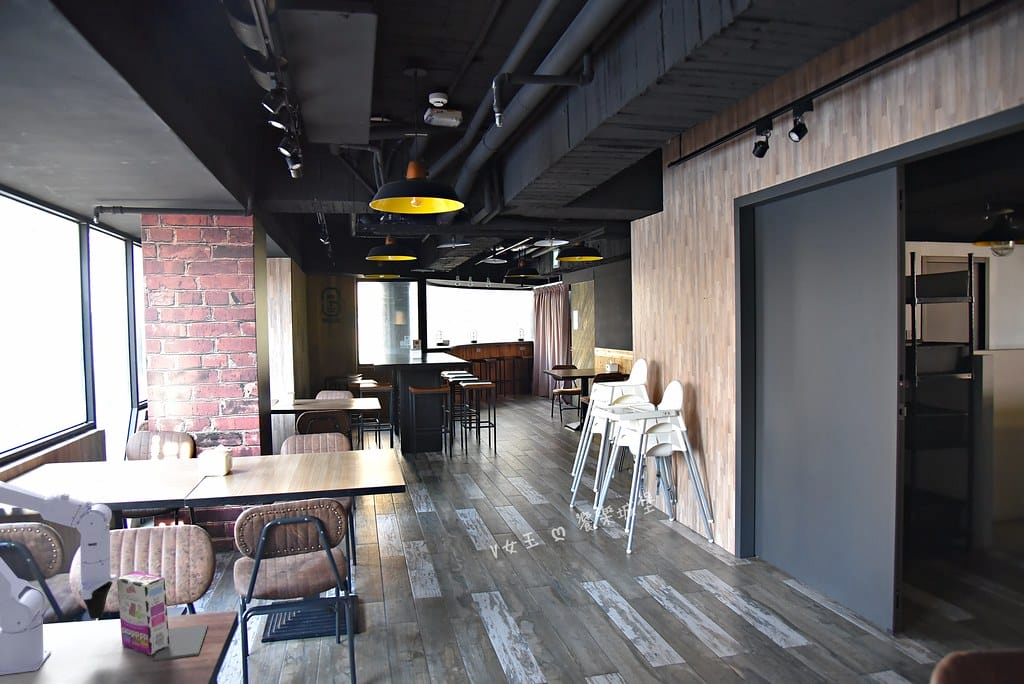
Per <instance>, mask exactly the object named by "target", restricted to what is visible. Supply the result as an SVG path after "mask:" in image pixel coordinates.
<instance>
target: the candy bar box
mask: <svg viewBox="0 0 1024 684" xmlns="http://www.w3.org/2000/svg"><path fill="white" fill-rule="evenodd" d="M116 581H117V583H116V584H117V593H118V594H117V595H118V607H119V608H118V609H119V617H120V618H119V620H120V633H121V645H122V646H123V647H125V648H129V649H131V650H135V651H137V652H141V653H144V654H146V655H150V656H152V655H155V654H156V652H158V651H160V650H162V649H164V648H166V647H168V646H169V645H170V643H169V631H168V629H169V621H168V617H169V616H168V607H167V606H168V605H167V593H166V580H165V577H163V576H160V575H159V576H158V575H156V574H155V575H154V574H150V573H146V572H141V571H138V570H134V571H133V572H129V573H127V574H124V575H122V576H120V577H117V578H116Z"/></svg>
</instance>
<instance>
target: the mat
mask: <svg viewBox="0 0 1024 684" xmlns="http://www.w3.org/2000/svg"><path fill="white" fill-rule="evenodd" d="M207 627H209V624H201V625H199V624H198V625H191V626H184V627H175V628H168V631H169V643H170V645H169V646H168V647H166V648H164V649H162V650H160V651H158V652H156V653H155V654H154V655H153V656H154V657H153V661H163V660H172V659H178V658H186V656H187V657H193V656H194V655H195V656H199V655H200V651H201V649H200V648H202V646H201V645H203V643H204V640H203V639H205V637H204V636H206V634H205V633H207V631H208V628H207ZM206 630H207V631H206Z"/></svg>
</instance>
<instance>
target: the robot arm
mask: <svg viewBox="0 0 1024 684" xmlns="http://www.w3.org/2000/svg"><path fill="white" fill-rule="evenodd" d="M0 504H4V505H8V506H12V507H17V508H21V509H24V510H30V511H33V512H38V513H39V514H40V516H41V518H42V520H45V521H49V522H51V523H55V524H59V525H63V526H67V527H69V528H74V529H77V532H79V533H80V545H79V546H80V547H79V548H80V549H79V550H80V580H79V585H80V590H79V592H78V594H79V597H80V598H79V599H80V601H83V602H84V605H85V606H86V608H87V612H88V615H89V618H90V620H95V619H96V620H97V619H102V617H103V615H104V611H105V608H106V604H107V602H106V601H107V598H108V594H109V592H110V590H111V588H112V586H113V581H115V580H117V578H118V577H117V574H115V573H114V574H112V571H111V569H112V568H111V536H110V525H109V523H110V522H111V519H112V517H113V516H112V515H113V512H112V509H111V508H110V507H109V506H108V505H106V504H104V503H103V502H92V501H89V500H87V501H85V502H84V501H82V500H79V499H76V498H72V497H70V494H68V493H65V492H63V493H62V494H58V493H56V494H53V495H51V496H45V495H42V494H39V493H36V492H33V491H30V490H27V489H24V488H22V487H19V486H15V485H13V484H10V483H7V482H4V481H1V480H0ZM45 603H46V595H45V593H44V592H43V590H41V589H40V588H37V587H35V586H33V585H31V584H30V583H29V581H28V580H25V579H22V578H18V576H17V575H16V574H15V573H14V572H13V570H12V569H11V568H10V567H9V566H8V564H7V563H6V562H5V560H3V558H2V557H1V556H0V676H2V675H10V674H12V675H13V674H19V673H28V672H35V671H38V670H39V669H40V667H41V666H42V665H43V663H45V661H46V660H47V659H48V657H49V655H50V654H51V652H52V651H51V649H50V650H44V625H43V623H44V621H43V620H44V618H43V616H42V615H41V613H40V611H41V610H42V608H43V607H44V606H45Z"/></svg>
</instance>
